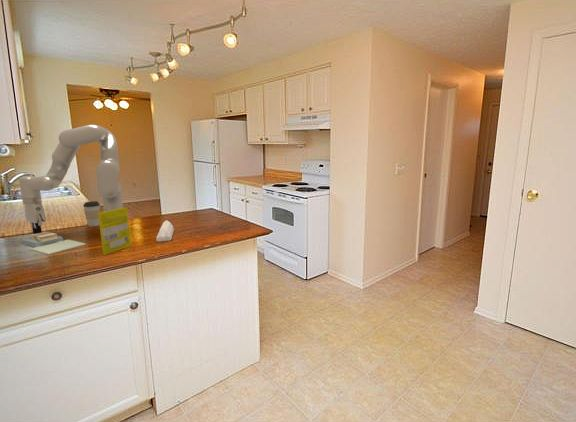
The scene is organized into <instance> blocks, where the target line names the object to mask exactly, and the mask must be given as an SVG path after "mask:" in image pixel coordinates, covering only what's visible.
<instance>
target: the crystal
mask: <svg viewBox="0 0 576 422" xmlns="http://www.w3.org/2000/svg"><path fill="white" fill-rule="evenodd" d="M174 231H175V229H174V225H173V224H172V223H171V222H170V221H168V220H167V219H166V220H165V221H163V222H162V224H161V226H160V228H159V231H158V233H157V235H156V242H160V243H161V242H163V243H164V242H171V240H172V238H173V235H174Z"/></svg>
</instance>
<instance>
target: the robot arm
mask: <svg viewBox="0 0 576 422" xmlns="http://www.w3.org/2000/svg"><path fill="white" fill-rule="evenodd" d="M58 141H59V142H58V144H57V145H56V147H55V149H54V151H52V155H51V160H52V163H51V166H50V168H49V169H48V171H47V173H45V175H43V176H34V175H33V176H32V175H26V176H24V175H23V176H20V177H19V178H18V184H19V188H20V195H21V199H22V200H21V201H22V205H24V215H25V219H26V222H29V224H30V225H31V228H32V234H36V233H41V232H43V230H42V226H43V222H44V223H46V221H47V218H46V214H45V209H44V206H43V204H42V203H43V200H42V194H41V193H42V192H41V191H43V192H46V191H48V192H49V191H51V190H53V189H56V188H58V187H59V186H60V185H61V184H62V182H63V180H64V179H65V177H66V175H67V174H68V170H69V168H70V167H71V165H72V162H73V160H74V158H75V156H76V155H77V153H78V151H79V150H80V148H81V146H83V145H84V146H85V145H88V144H92V143H95V142H96V143H98V144H99V154H100V161H99V162H98V164H97V166H96V179H97V182H96V183H97V192H98V194H99V195H100V196H101V198H102V207H103V212H105V211H110V210H115V209H119V208H124V203H123V191H122V188H123V187H122V185H121V183H120V182H119V172H120V160H119V148H118V147H119V146H118V140H117V139H116V136H115V135H114V134H113V133H112V132H111V131H110V130H108V129H107V128H105V127H103V126H101V125H98V124H87V125H83V126H77V127H75V128H69V129H65V130H63V131H61V132H60V133H59V134H58Z"/></svg>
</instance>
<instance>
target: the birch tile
mask: <svg viewBox="0 0 576 422" xmlns="http://www.w3.org/2000/svg"><path fill="white" fill-rule="evenodd" d="M57 236H58V235H57V233H54V232H51V231H47V230H46V231H42V232H41V233H36V234H33V233H32V234H30V237H31V239H32V240H36V241H39V242H45V241H49V240H53V239H58V238H57Z"/></svg>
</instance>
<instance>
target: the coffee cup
mask: <svg viewBox="0 0 576 422" xmlns="http://www.w3.org/2000/svg"><path fill="white" fill-rule="evenodd" d="M100 205H101V204H100V203H99V201H98V200H96V201H94V200H93V201H87V202H86V201H85V202H84V203H83V209H84V210H83V211H84V217H85V219H86V223H87V226H89V227H96V226H99V218H98V213H101V206H100Z"/></svg>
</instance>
